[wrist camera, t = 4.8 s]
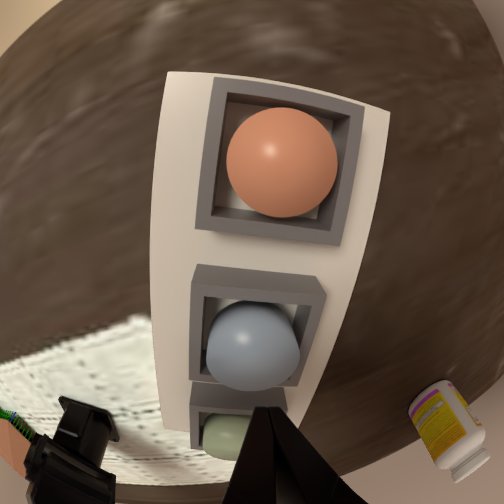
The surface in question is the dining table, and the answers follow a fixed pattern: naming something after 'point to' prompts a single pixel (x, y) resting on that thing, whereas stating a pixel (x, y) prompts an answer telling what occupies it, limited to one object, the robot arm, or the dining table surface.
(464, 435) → the supplement bottle
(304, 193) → the terracotta button
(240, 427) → the sage button
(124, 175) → the dining table surface
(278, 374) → the slate blue button
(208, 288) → the button panel
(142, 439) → the dining table surface
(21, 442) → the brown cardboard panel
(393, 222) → the dining table surface
